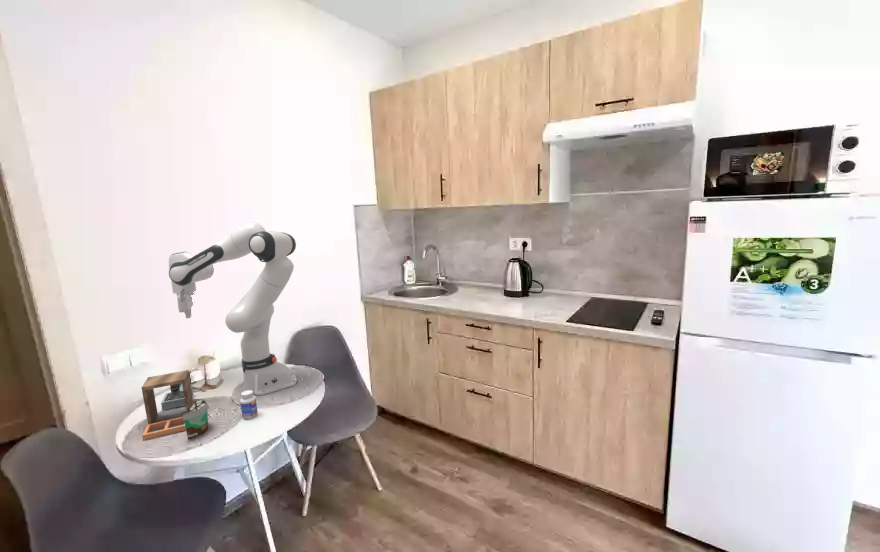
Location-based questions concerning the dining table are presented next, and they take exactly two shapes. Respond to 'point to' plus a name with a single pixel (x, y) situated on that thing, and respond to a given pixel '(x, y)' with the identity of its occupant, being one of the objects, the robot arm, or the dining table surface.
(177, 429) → the orange flat frame
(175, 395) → the dark grey upright piece
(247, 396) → the pill bottle
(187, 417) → the food container
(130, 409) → the dining table surface
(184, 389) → the tunnel
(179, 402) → the grey piece
